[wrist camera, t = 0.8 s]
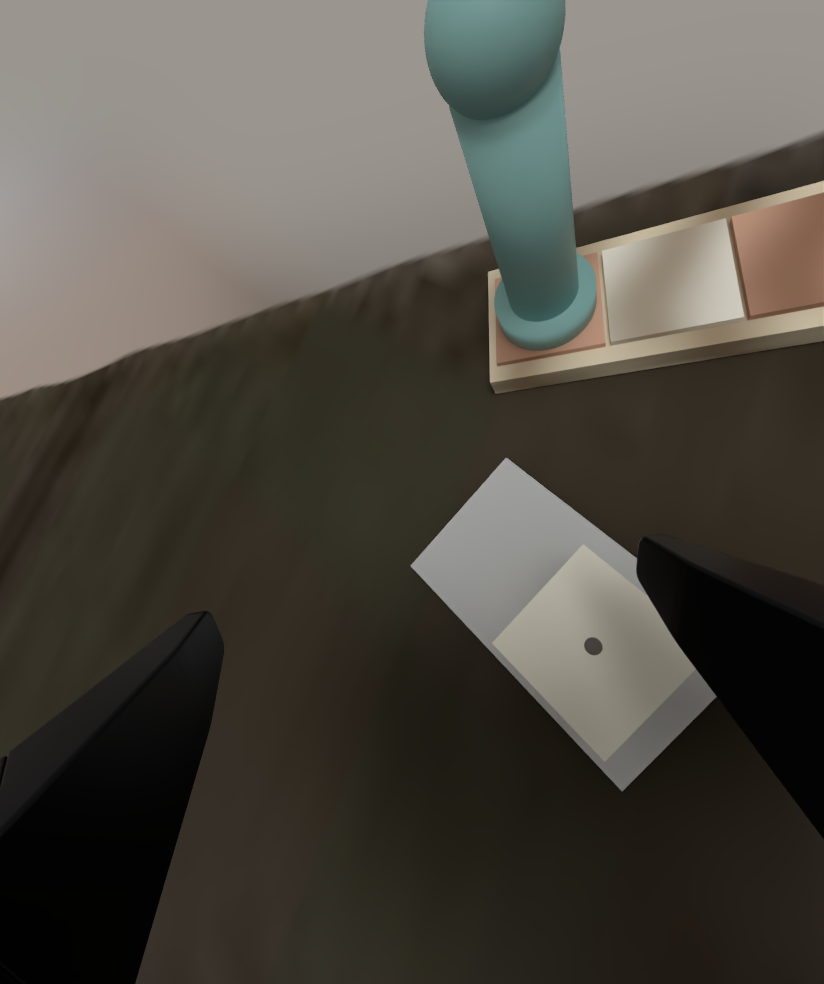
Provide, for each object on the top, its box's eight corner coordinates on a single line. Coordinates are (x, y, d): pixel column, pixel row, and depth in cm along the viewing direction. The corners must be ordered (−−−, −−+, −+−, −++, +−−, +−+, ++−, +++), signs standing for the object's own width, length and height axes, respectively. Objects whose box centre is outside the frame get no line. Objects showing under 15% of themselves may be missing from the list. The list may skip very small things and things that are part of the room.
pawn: (618, 290, 20) (637, -159, 8) (551, 366, 20) (479, 37, 9) (541, 254, 22) (470, -148, 10) (481, 324, 22) (348, 11, 11)
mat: (757, 652, 16) (759, 653, 15) (622, 788, 16) (621, 791, 16) (507, 459, 21) (506, 457, 21) (412, 566, 22) (410, 566, 22)
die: (692, 641, 16) (721, 650, 12) (607, 728, 17) (607, 766, 13) (589, 557, 18) (585, 541, 14) (516, 636, 19) (490, 643, 15)
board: (1055, 143, 16) (1095, 100, 15) (1121, 292, 14) (1173, 260, 13) (493, 287, 24) (486, 268, 23) (495, 393, 22) (488, 379, 21)
